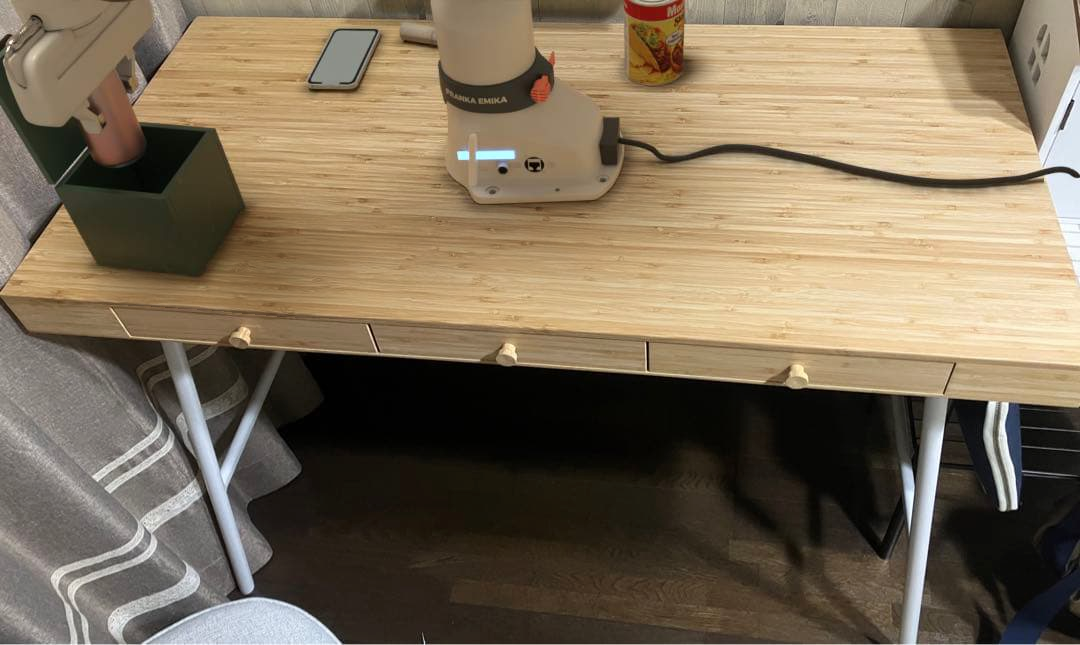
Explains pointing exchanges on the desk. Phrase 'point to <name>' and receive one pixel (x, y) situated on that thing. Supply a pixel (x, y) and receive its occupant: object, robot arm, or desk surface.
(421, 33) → the rod
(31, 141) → the lid
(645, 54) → the canned food
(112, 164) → the beverage can
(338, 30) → the smartphone
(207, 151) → the dark green box
